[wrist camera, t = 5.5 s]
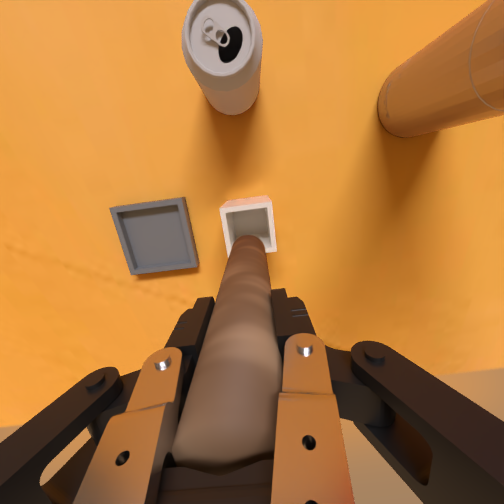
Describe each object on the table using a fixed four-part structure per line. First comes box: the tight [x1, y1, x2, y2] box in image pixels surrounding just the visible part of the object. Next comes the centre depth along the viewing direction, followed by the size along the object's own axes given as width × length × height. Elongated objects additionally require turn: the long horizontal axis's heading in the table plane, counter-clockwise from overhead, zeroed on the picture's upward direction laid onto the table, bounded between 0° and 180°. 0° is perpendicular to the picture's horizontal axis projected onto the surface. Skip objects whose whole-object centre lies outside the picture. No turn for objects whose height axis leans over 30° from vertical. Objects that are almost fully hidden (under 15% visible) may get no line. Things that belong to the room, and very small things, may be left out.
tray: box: [109, 197, 199, 275], centre depth 37 cm, size 11×11×2 cm
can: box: [182, 0, 263, 115], centre depth 25 cm, size 8×8×12 cm
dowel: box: [172, 235, 283, 476], centre depth 13 cm, size 3×3×16 cm
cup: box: [219, 195, 277, 257], centre depth 32 cm, size 6×6×9 cm
